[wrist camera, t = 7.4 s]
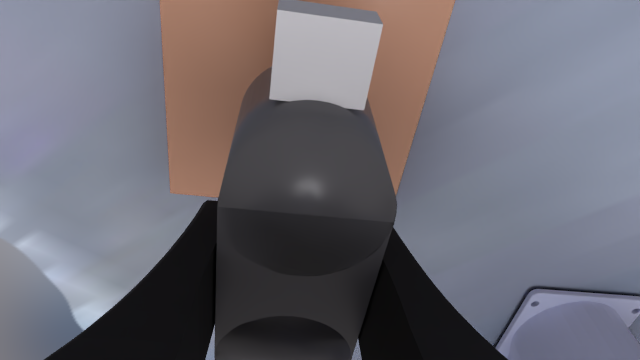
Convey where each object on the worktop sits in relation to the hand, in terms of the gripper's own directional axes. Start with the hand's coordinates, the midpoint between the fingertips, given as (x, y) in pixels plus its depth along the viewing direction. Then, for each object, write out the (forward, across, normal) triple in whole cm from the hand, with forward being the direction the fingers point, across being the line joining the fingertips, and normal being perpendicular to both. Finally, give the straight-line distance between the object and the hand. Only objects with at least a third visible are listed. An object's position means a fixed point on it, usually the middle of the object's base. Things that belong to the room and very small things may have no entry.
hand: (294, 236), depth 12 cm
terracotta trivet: (+9, 0, 0) cm, 9 cm away
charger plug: (+2, 0, 0) cm, 2 cm away
